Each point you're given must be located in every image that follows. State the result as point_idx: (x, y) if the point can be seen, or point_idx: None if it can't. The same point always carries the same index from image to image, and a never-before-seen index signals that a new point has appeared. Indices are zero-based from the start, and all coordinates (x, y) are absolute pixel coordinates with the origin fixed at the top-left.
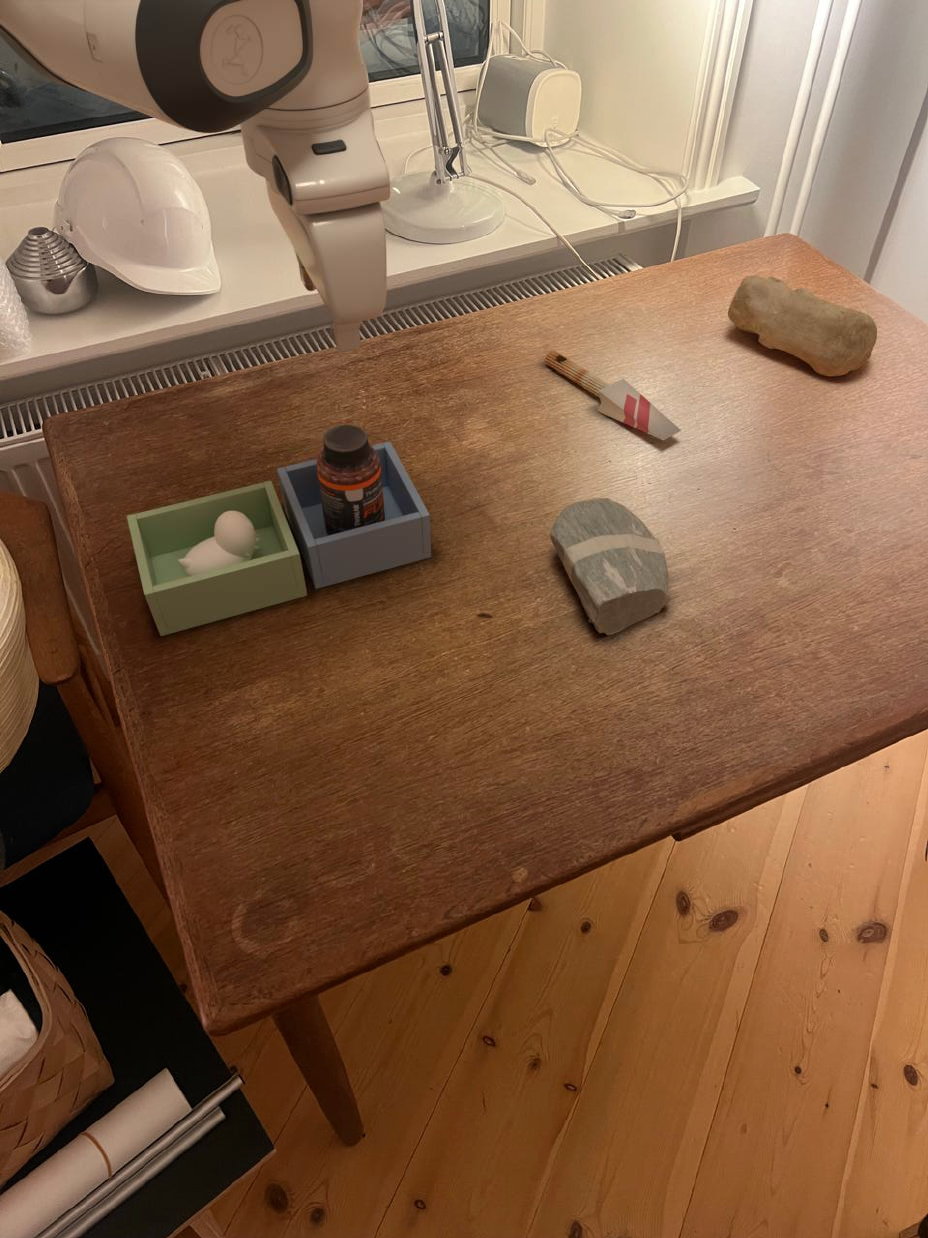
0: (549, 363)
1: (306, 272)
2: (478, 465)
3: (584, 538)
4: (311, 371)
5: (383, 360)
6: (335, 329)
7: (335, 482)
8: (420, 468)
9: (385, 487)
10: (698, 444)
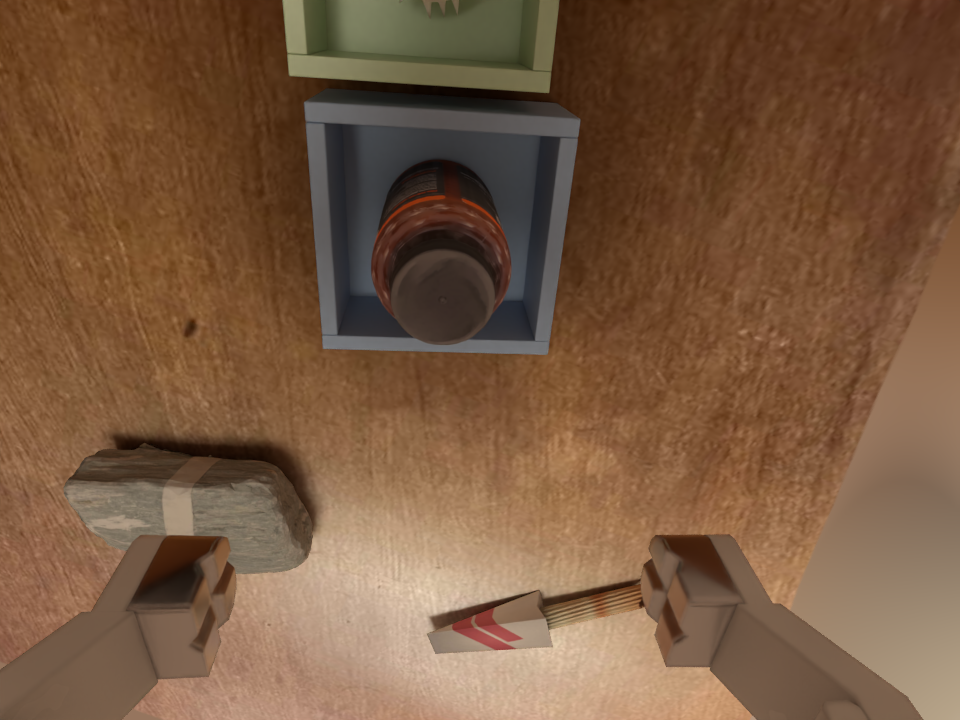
0: None
1: (682, 607)
2: (510, 433)
3: (198, 520)
4: (899, 282)
5: (833, 399)
6: (68, 627)
7: (386, 225)
8: (546, 359)
9: (519, 296)
10: (423, 648)
